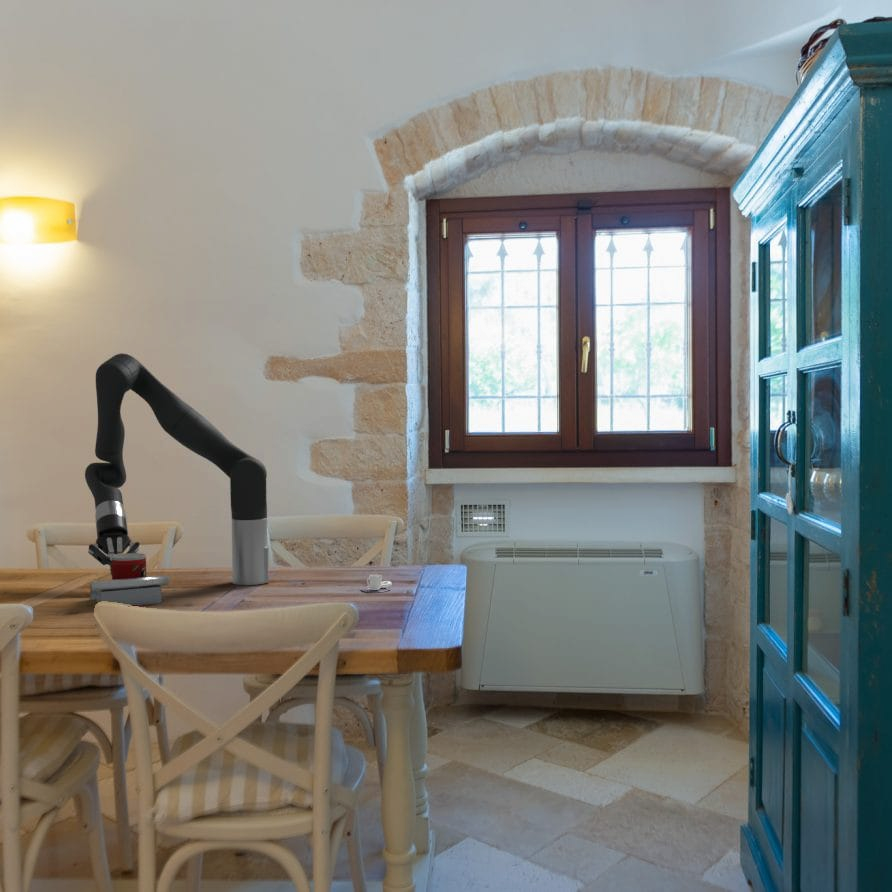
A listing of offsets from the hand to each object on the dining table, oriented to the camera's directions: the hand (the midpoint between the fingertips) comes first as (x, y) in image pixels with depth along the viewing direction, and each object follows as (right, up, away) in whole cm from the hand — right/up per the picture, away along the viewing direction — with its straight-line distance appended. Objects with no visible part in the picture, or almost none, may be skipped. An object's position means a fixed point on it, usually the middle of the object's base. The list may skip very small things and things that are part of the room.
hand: (117, 575), depth 224 cm
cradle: (+6, -5, -10) cm, 13 cm away
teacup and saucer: (+68, -5, +2) cm, 68 cm away
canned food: (+6, -5, -9) cm, 12 cm away
